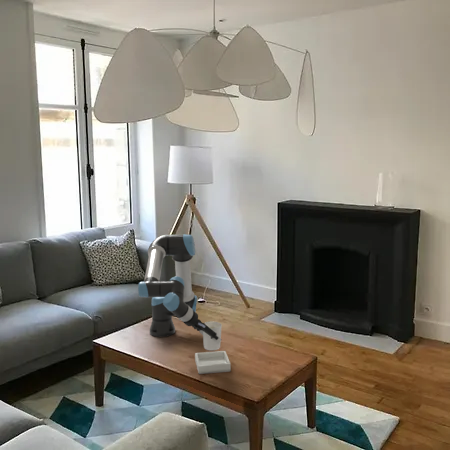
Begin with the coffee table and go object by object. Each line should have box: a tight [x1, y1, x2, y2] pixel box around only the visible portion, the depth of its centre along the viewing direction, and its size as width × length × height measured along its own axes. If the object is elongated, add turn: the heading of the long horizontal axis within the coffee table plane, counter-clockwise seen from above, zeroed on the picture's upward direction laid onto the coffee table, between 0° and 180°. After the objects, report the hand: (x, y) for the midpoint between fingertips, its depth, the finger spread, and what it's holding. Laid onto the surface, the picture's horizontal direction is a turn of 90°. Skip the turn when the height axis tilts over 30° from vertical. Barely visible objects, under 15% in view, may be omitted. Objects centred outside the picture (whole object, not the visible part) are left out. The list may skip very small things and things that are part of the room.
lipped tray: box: [194, 350, 232, 375], centre depth 265 cm, size 16×16×4 cm
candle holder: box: [202, 320, 223, 352], centre depth 262 cm, size 10×10×12 cm
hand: (213, 338), depth 264 cm, fingers closed on candle holder, 9 cm apart
